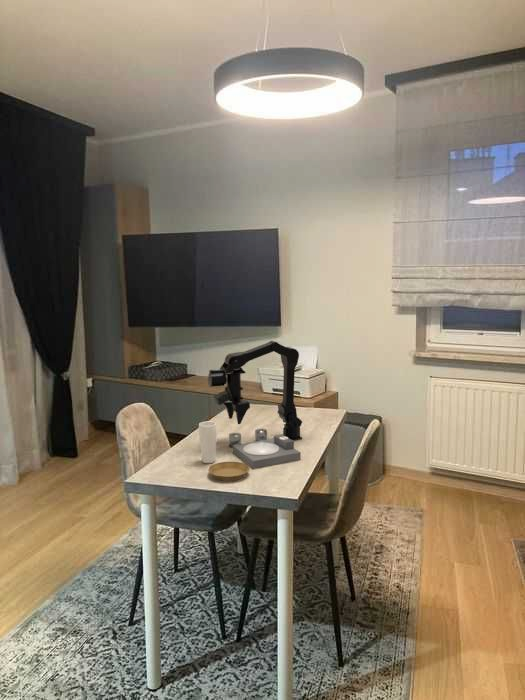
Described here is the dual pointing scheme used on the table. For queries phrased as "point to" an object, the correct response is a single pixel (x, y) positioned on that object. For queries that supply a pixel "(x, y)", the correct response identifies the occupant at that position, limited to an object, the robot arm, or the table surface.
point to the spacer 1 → (234, 439)
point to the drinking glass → (208, 441)
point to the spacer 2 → (260, 434)
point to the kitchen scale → (267, 452)
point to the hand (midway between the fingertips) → (234, 421)
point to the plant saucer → (229, 470)
